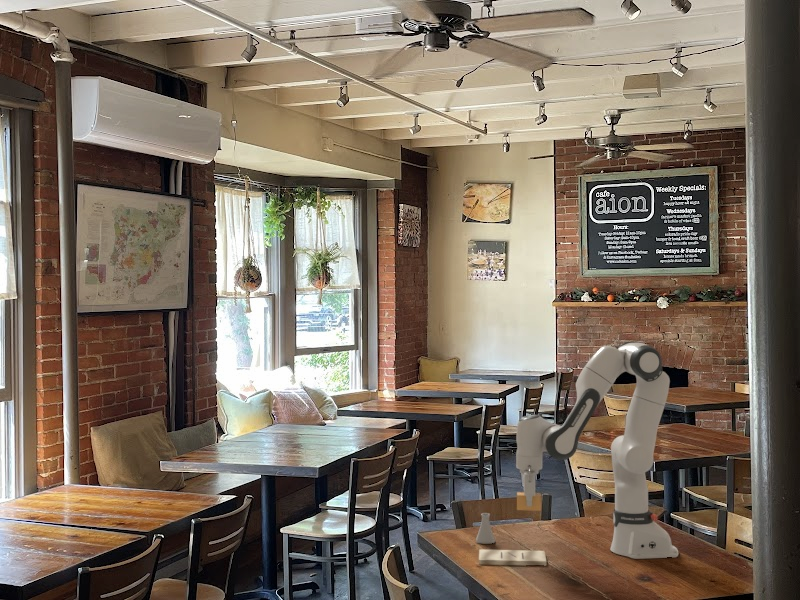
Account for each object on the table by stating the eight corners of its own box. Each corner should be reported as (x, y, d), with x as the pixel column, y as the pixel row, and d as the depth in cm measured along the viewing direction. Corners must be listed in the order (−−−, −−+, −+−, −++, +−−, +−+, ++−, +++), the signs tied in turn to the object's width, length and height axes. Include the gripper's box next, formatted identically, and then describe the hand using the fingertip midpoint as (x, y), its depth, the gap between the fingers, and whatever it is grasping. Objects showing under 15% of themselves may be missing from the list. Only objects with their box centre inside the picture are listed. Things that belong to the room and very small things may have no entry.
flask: (494, 545, 329) (494, 517, 328) (474, 544, 330) (474, 516, 330) (496, 539, 336) (496, 512, 336) (476, 538, 337) (476, 511, 337)
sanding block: (540, 507, 318) (540, 493, 317) (540, 510, 313) (541, 496, 313) (517, 506, 319) (517, 492, 319) (516, 510, 314) (517, 495, 314)
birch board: (544, 555, 316) (544, 550, 316) (546, 565, 304) (546, 561, 304) (479, 553, 318) (479, 549, 318) (478, 564, 306) (478, 559, 306)
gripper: (539, 469, 305) (539, 511, 305) (537, 457, 325) (537, 497, 325) (520, 468, 306) (519, 510, 306) (519, 457, 326) (519, 496, 326)
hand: (529, 503), depth 316 cm, fingers closed on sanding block, 4 cm apart
